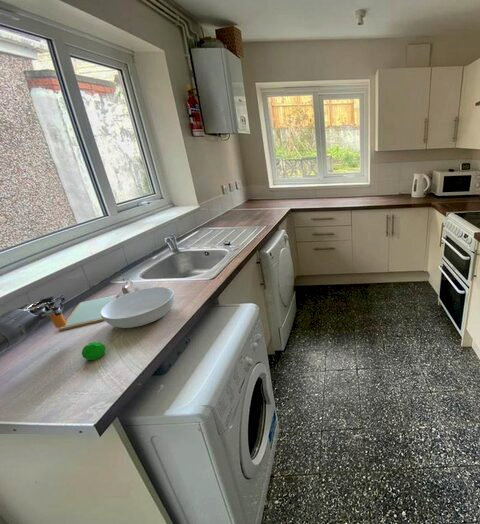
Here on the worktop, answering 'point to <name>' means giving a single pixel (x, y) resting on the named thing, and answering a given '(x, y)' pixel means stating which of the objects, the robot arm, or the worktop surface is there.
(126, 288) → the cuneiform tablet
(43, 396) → the worktop surface
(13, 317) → the robot arm
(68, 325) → the pale green board
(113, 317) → the serving bowl
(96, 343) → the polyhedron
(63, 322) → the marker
